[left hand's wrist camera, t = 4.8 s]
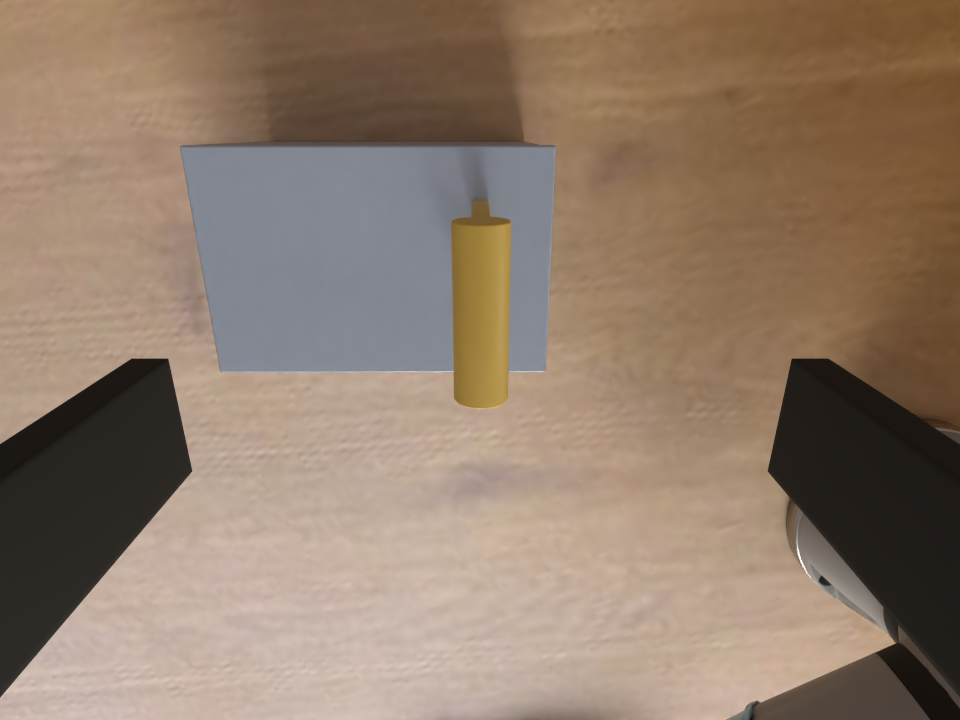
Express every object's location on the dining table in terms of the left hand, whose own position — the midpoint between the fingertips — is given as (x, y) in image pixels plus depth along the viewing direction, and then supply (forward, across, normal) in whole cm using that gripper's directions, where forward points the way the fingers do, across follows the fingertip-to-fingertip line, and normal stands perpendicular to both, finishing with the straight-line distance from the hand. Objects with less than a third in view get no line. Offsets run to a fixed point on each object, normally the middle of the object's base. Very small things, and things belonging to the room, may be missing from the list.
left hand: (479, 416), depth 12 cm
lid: (+15, +5, 0) cm, 16 cm away
